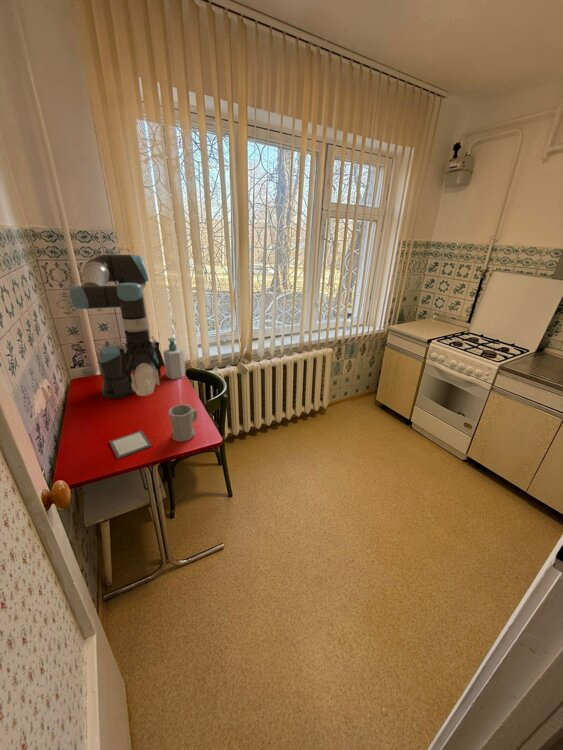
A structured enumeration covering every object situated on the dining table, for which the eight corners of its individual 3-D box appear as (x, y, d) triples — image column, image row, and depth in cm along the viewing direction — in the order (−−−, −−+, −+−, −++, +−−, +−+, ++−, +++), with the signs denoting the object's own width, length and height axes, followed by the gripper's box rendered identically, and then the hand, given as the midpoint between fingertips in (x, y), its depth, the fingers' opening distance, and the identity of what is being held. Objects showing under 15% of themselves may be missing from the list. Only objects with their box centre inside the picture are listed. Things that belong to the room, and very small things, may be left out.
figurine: (149, 397, 112) (144, 368, 107) (131, 395, 113) (125, 366, 108) (160, 389, 118) (156, 361, 113) (142, 387, 120) (137, 359, 115)
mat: (109, 442, 116) (109, 441, 116) (141, 431, 123) (141, 430, 123) (117, 459, 108) (117, 458, 107) (151, 446, 115) (151, 445, 114)
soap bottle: (167, 380, 166) (162, 342, 156) (165, 373, 173) (160, 337, 164) (186, 377, 170) (182, 340, 160) (184, 371, 177) (180, 335, 168)
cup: (177, 426, 127) (174, 401, 122) (199, 427, 127) (197, 402, 122) (168, 441, 118) (164, 415, 113) (191, 442, 118) (188, 416, 113)
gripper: (106, 337, 97) (119, 398, 106) (169, 327, 109) (176, 383, 119) (100, 331, 102) (113, 390, 111) (161, 322, 114) (168, 376, 124)
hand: (146, 386), depth 115 cm, fingers closed on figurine, 8 cm apart
